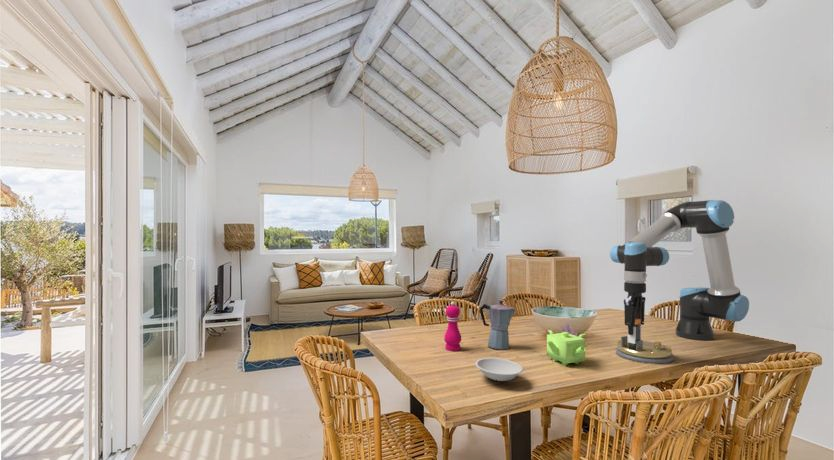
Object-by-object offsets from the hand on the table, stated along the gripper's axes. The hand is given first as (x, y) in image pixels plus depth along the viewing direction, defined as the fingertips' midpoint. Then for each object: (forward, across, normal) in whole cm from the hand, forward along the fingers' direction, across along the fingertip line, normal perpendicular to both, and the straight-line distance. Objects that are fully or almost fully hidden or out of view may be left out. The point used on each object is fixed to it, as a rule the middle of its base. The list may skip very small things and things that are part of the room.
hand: (634, 341), depth 160 cm
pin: (+3, 0, 0) cm, 3 cm away
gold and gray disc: (+5, +7, -1) cm, 9 cm away
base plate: (+7, +7, -1) cm, 10 cm away
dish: (+7, -60, +17) cm, 62 cm away
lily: (+7, -4, +25) cm, 27 cm away
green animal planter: (+7, -24, +14) cm, 29 cm away
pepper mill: (+7, -47, +53) cm, 71 cm away
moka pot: (+7, -30, +43) cm, 53 cm away
